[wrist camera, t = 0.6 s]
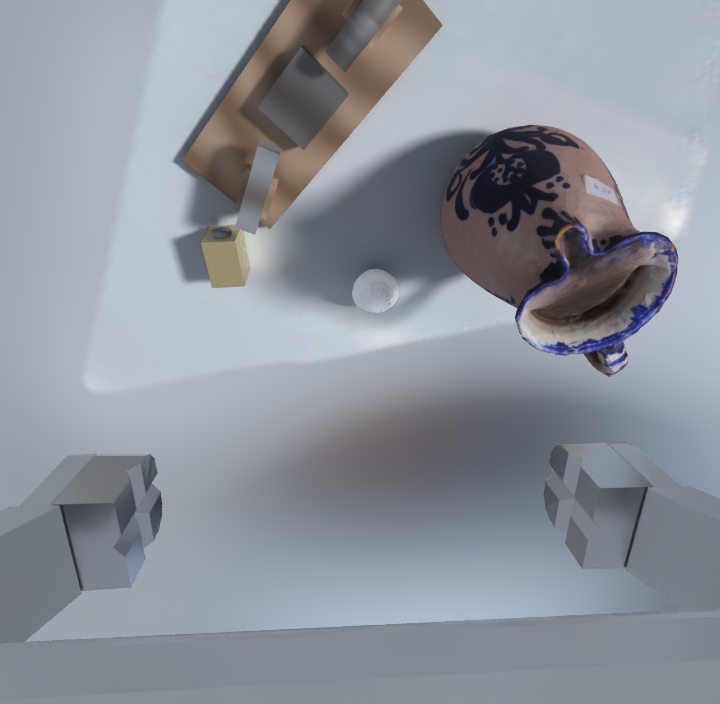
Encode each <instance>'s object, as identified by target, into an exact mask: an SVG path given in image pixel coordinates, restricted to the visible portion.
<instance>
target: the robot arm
mask: <svg viewBox="0 0 720 704" xmlns="http://www.w3.org/2000/svg"><path fill="white" fill-rule="evenodd" d="M549 464H550V466H551V467H552V469H553V470H554V472H553V473H552V475H551V476H550V477H549V478H548V479H547V480H546V481H545V488H544V502H545V509H546V511H547V514H548V517H549V519H550V520H551V522H552V524H553V525H554V527H556V528H557V529H559V530H561V531H562V532H564V533H565V534H567V536H566V541H565V544H566V545H567V547H568V548H569V550H570V551H571V552H572V554H573V556H574V557H575V559H576V560H577V561H578V563H579V565H580V566H581V568H582V569H591V568H592V569H598V568H626V571H627V572H629V573H630V574H632V575H633V576H634V577H636V578H637V579H639V580H640V581H641V582H643V583H644V584H645V585H647V586H648V587H650V588H651V589H652V590H654V591H655V592H657V593H658V594H659V595H661V596H662V597H663V598H665V599H666V600H668V601H669V602H670V603H672V604H673V605H674V606H676V607H677V608H679V609H680V610H676V611H675V610H674V611H653V612H633V613H612V614H593V615H571V616H551V617H550V616H549V617H530V618H529V617H528V618H507V619H487V620H466V621H446V622H426V623H407V624H387V625H366V626H344V627H324V628H303V629H282V630H261V631H243V632H242V631H241V632H219V633H199V634H179V635H158V636H136V637H115V638H95V639H76V640H75V639H74V640H53V641H34V642H33V641H32V642H25V641H26V640H27V639H28V638H29V637H30V636H32V635H33V634H34V633H35V632H36V631H38V630H39V629H40V628H41V627H42V626H44V625H45V624H46V623H47V622H48V621H49V620H51V619H52V618H53V617H54V616H55V615H57V614H58V613H59V612H60V611H61V610H62V609H64V608H65V607H66V606H67V605H68V604H70V603H71V602H72V601H73V600H74V599H75V598H77V597H78V596H79V595H80V594H81V591H87V590H102V589H116V588H129V587H132V585H133V583H134V581H135V579H136V576H137V575H138V573H139V570H140V569H141V567H142V564H143V562H144V560H145V554H144V550H143V548H145V547H146V546H148V545H149V544H150V543H152V542H153V541H154V540H155V537H156V535H157V533H158V531H159V527H160V522H161V518H162V498H161V492H160V491H159V490H158V489H157V488H156V487H155V486H154V485H153V484H152V481H153V480H154V478H155V477H156V475H157V468H156V463H155V459H154V457H153V456H151V454H99V455H97V454H81V455H70V456H67V457H66V458H65V459H64V460H63V461H62V462H61V463H60V464H59V465H58V466H57V467H56V468H55V469H54V470H53V471H52V472H51V473H50V474H49V475H48V476H47V477H46V478H45V479H44V481H43V482H42V483H41V484H40V485H39V486H38V487H37V488H36V489H35V490H34V491H33V492H32V493H31V494H30V495H29V496H28V497H27V498H26V499H25V500H24V501H23V502H22V504H21V505H20V506H16V507H8V508H6V509H4V510H2V511H0V704H720V498H717V497H715V496H712V495H710V494H708V493H705V492H703V491H700V490H698V489H695V488H693V487H690V486H681V485H679V483H677V482H676V481H675V480H674V479H673V478H672V477H670V476H669V475H668V474H667V473H666V472H664V471H663V470H662V469H661V468H660V467H659V466H658V465H656V464H655V463H654V462H653V461H652V460H651V459H649V458H648V457H647V456H646V455H645V454H643V453H642V452H641V451H640V450H639V449H638V448H637V447H635V446H634V445H633V444H631V443H628V442H625V441H624V442H606V443H589V444H569V445H555V446H554V447H553V449H552V451H551V453H550V458H549Z"/></svg>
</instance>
